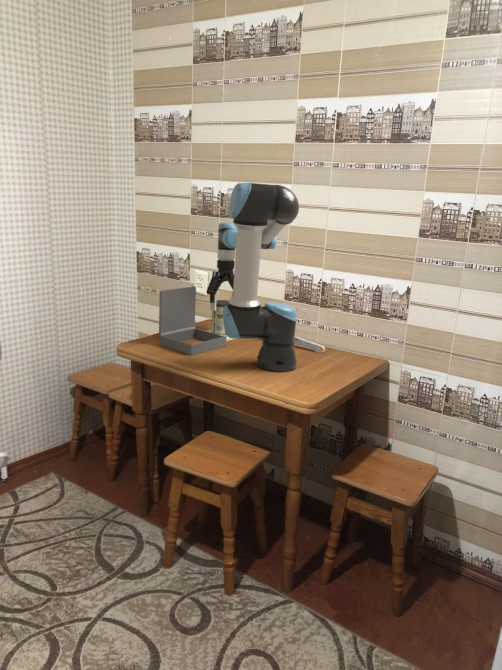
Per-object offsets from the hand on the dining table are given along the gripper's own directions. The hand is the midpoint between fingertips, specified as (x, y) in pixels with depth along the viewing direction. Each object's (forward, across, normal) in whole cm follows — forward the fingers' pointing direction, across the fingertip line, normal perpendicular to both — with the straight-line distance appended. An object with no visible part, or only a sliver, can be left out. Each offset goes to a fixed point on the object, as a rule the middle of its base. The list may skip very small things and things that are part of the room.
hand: (223, 308), depth 232 cm
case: (+12, +22, +4) cm, 25 cm away
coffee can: (+12, 0, 0) cm, 12 cm away
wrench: (+13, -11, +30) cm, 35 cm away
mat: (+12, 0, 0) cm, 12 cm away
